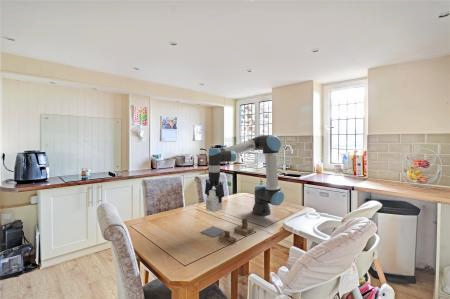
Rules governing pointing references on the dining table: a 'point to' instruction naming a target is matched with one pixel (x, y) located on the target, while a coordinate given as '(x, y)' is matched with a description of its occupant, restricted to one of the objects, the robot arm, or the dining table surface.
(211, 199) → the container
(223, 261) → the dining table surface
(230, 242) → the pair of wooden stands
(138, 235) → the dining table surface
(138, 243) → the dining table surface
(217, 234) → the plate
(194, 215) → the dining table surface
